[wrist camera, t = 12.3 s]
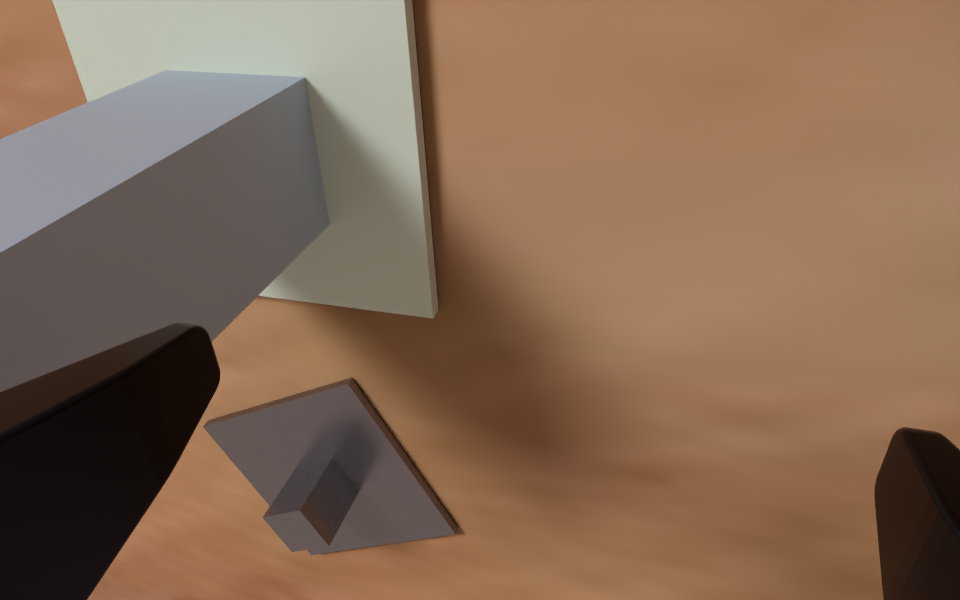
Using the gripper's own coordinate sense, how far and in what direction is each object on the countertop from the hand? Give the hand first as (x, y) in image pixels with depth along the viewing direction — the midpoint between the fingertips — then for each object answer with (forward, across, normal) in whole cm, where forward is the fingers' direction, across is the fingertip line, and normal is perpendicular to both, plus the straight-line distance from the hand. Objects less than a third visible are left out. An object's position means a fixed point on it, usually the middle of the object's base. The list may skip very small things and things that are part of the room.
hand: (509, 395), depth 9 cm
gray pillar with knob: (+12, +12, +2) cm, 17 cm away
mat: (+13, +12, +2) cm, 18 cm away
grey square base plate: (+13, +12, +18) cm, 25 cm away
